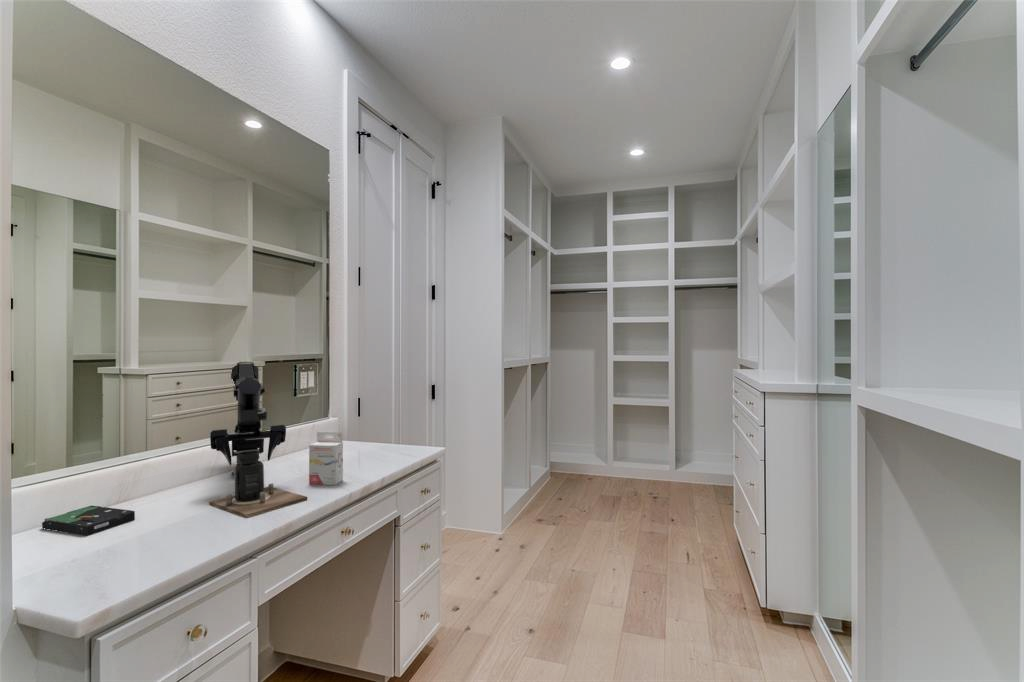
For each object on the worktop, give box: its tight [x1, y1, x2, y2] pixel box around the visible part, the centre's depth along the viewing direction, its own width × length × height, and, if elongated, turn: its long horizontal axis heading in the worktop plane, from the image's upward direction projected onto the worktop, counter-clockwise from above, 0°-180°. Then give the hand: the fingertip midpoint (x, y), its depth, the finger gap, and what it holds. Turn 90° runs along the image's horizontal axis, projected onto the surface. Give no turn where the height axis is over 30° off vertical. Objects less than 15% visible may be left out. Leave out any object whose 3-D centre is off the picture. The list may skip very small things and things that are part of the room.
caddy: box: [208, 483, 308, 519], centre depth 128 cm, size 18×16×3 cm
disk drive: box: [41, 505, 136, 537], centre depth 113 cm, size 10×3×15 cm
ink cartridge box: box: [308, 431, 344, 486], centre depth 146 cm, size 9×5×15 cm, turn 84°
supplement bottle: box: [233, 451, 265, 502], centre depth 128 cm, size 7×7×12 cm
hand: (249, 461), depth 134 cm, fingers open, 9 cm apart
